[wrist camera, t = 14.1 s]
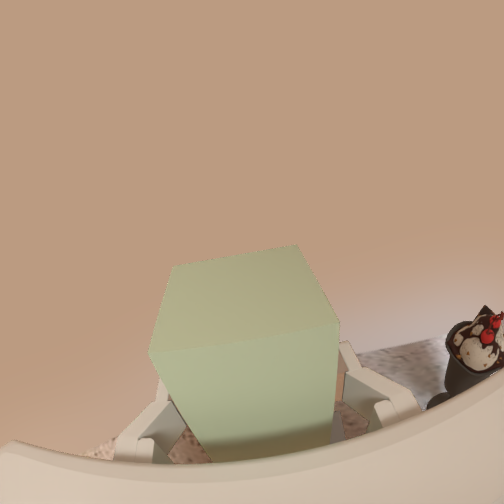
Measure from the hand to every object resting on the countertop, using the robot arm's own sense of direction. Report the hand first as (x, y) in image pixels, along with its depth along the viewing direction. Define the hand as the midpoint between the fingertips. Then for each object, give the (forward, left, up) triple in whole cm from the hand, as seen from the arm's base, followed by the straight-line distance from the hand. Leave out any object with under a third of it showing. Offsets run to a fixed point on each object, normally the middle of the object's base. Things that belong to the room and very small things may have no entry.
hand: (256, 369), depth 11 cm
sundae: (-18, -3, -19) cm, 26 cm away
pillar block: (0, +1, -5) cm, 6 cm away
